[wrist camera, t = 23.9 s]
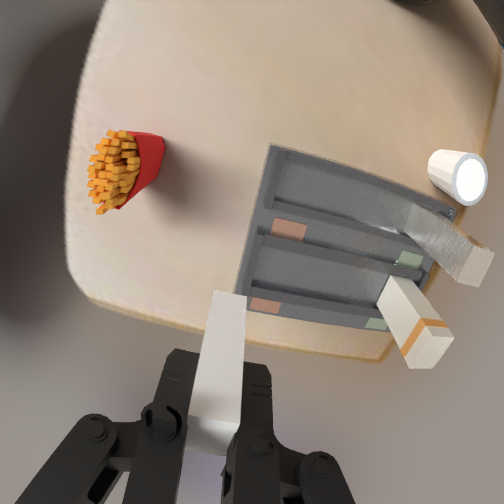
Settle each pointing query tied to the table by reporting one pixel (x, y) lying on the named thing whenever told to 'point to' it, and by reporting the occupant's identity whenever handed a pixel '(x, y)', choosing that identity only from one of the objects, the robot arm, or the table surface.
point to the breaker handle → (414, 323)
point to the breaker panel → (344, 241)
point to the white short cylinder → (459, 175)
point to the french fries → (123, 167)
